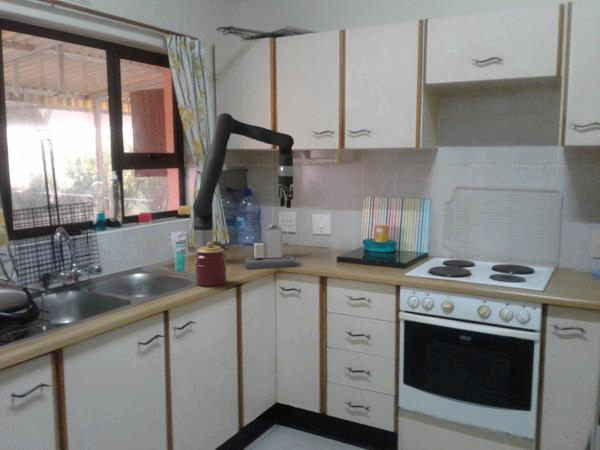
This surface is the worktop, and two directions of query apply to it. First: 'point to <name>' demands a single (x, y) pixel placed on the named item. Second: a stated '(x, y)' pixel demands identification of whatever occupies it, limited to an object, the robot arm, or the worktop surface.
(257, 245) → the fader tab
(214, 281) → the canister
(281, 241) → the milk carton
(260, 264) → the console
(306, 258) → the worktop surface
